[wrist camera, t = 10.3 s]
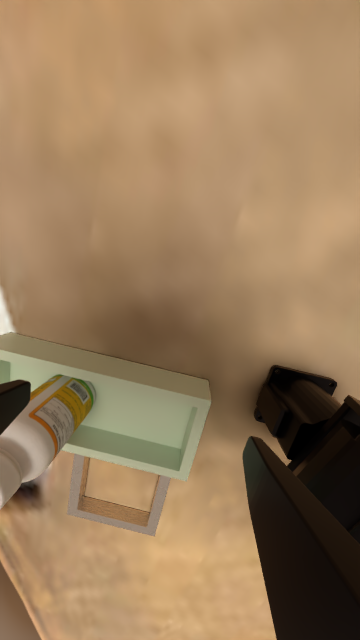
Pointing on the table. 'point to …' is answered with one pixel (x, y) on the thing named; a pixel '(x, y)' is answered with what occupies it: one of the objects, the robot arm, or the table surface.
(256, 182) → the table surface
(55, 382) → the supplement bottle
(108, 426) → the trough
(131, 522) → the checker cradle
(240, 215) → the table surface
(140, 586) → the table surface
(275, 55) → the table surface
